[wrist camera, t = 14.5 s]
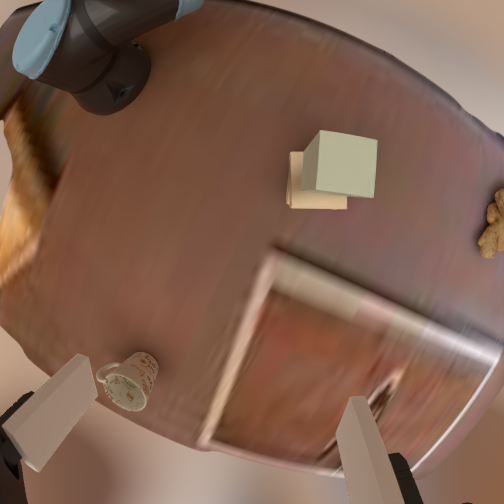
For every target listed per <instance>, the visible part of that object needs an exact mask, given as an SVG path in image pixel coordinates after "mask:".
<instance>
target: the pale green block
mask: <svg viewBox="0 0 504 504" xmlns="http://www.w3.org/2000/svg"><path fill="white" fill-rule="evenodd" d="M376 157H377V140H375V139H370V138H365V137H359V136H354V135H348V134H343V133H337V132H330V131H323V130H320V131H319V132H318V134H317V135H316V136H315V137H314V139H313V140H312V141H311V143H310V144H309V145H308V146H307V148H306V149H305V150H304V155H303V168H302V180H301V191H304V192H312V193H321V194H329V195H336V196H351V197H368V198H373V197H374V186H375V173H376Z"/></svg>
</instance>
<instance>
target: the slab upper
mask: <svg viewBox="0 0 504 504" xmlns="http://www.w3.org/2000/svg"><path fill="white" fill-rule="evenodd" d="M303 155H304V152H290V155H289V207H290V208H318V209H347V196H336V195H329V194H321V193H312V192H304V191H301V180H302V168H303Z"/></svg>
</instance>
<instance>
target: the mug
mask: <svg viewBox="0 0 504 504" xmlns="http://www.w3.org/2000/svg"><path fill="white" fill-rule="evenodd" d="M112 367H117V368H115V369H114V370H113V371H112V372H111V373H109V374H108V375H107V376H106V377H105V378H104V377H103V376H102V373H103V372H104V371H105V370H107V369H109V368H112ZM158 371H159V366H158V363H157V361H156V360H155V359H154V358H153V357H152V356H151V355H149V354H148V353H145V352H136V353H134V354H133V355H132V356H130V357H129V358H128V359H127V360H125V361H124V362H123V363H117V362H115V363H110V364H107V365H105V366H103V367H101V368H100V369H99V370H98V371H97V373H96V378H97V380H98V381H100V382H103V383H104V389H105V391H106V393H107V395H108V396H109V398H110V399H111V400H112V401H113V402H114V403H116V404H117V405H118V406H120V407H122V408H124V409H126V410H129V411H140V410H142V409H143V408H144V407H145V406H146V404H147V401H148V399H149V396H150V393H151V390H152V388H153V385H154V382H155V379H156V377H157V374H158Z"/></svg>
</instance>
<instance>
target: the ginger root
mask: <svg viewBox="0 0 504 504" xmlns="http://www.w3.org/2000/svg"><path fill="white" fill-rule="evenodd" d="M495 201H496V202H494V203H492V204H489V205H488V208H487V221H488V222H489V224H490V225H489V226H488V227H487V228H486V230H485V231H484V232H483V234H482V236H481V237H480V239H479V240H478V245H479V246H480V253H481V255H482V257H483V258H490V259H492V258H493V257H494V255H495V251H498V252H502V251H503V250H504V188H502V189H500V190H499V191H497V192H496V194H495Z"/></svg>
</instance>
